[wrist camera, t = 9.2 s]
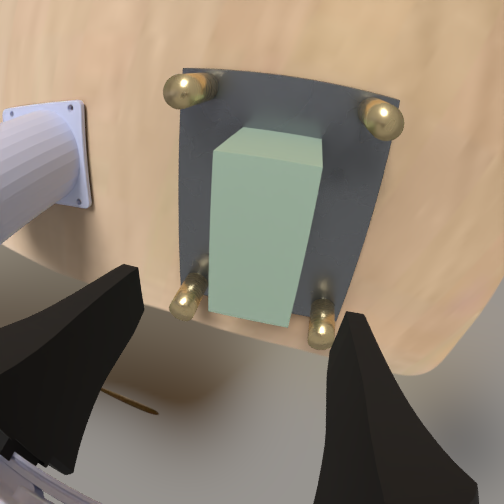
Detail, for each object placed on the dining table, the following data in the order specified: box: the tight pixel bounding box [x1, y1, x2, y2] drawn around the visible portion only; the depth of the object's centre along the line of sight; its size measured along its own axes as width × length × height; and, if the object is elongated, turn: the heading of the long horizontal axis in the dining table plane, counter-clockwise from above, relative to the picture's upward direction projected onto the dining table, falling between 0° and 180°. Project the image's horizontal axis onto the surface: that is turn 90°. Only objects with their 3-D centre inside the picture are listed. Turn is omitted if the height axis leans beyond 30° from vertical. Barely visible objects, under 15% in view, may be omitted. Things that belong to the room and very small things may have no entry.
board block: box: [208, 127, 323, 328], centre depth 15 cm, size 4×8×5 cm, turn 174°
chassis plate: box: [163, 68, 404, 350], centre depth 17 cm, size 11×15×4 cm
